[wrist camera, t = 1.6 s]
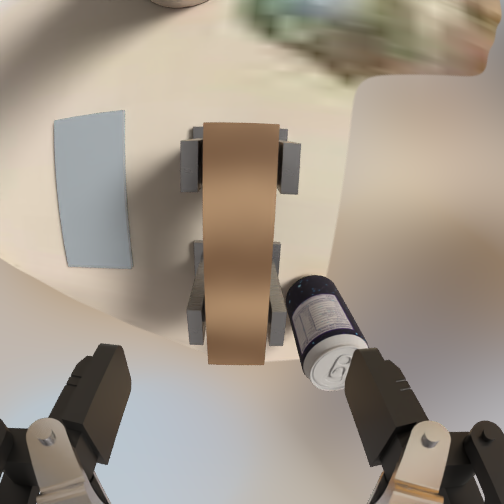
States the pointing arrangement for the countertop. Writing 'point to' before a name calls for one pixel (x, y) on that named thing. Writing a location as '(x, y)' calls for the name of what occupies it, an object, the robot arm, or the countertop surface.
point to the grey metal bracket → (194, 163)
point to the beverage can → (323, 331)
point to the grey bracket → (197, 301)
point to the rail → (238, 238)
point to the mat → (93, 190)
